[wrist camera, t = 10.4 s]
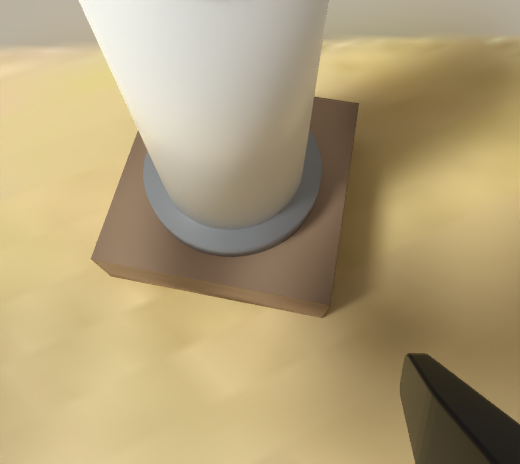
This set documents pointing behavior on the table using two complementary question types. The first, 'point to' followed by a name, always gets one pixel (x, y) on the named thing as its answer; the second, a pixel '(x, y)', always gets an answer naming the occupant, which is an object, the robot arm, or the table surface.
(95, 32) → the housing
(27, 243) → the table surface
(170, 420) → the table surface
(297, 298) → the stand
